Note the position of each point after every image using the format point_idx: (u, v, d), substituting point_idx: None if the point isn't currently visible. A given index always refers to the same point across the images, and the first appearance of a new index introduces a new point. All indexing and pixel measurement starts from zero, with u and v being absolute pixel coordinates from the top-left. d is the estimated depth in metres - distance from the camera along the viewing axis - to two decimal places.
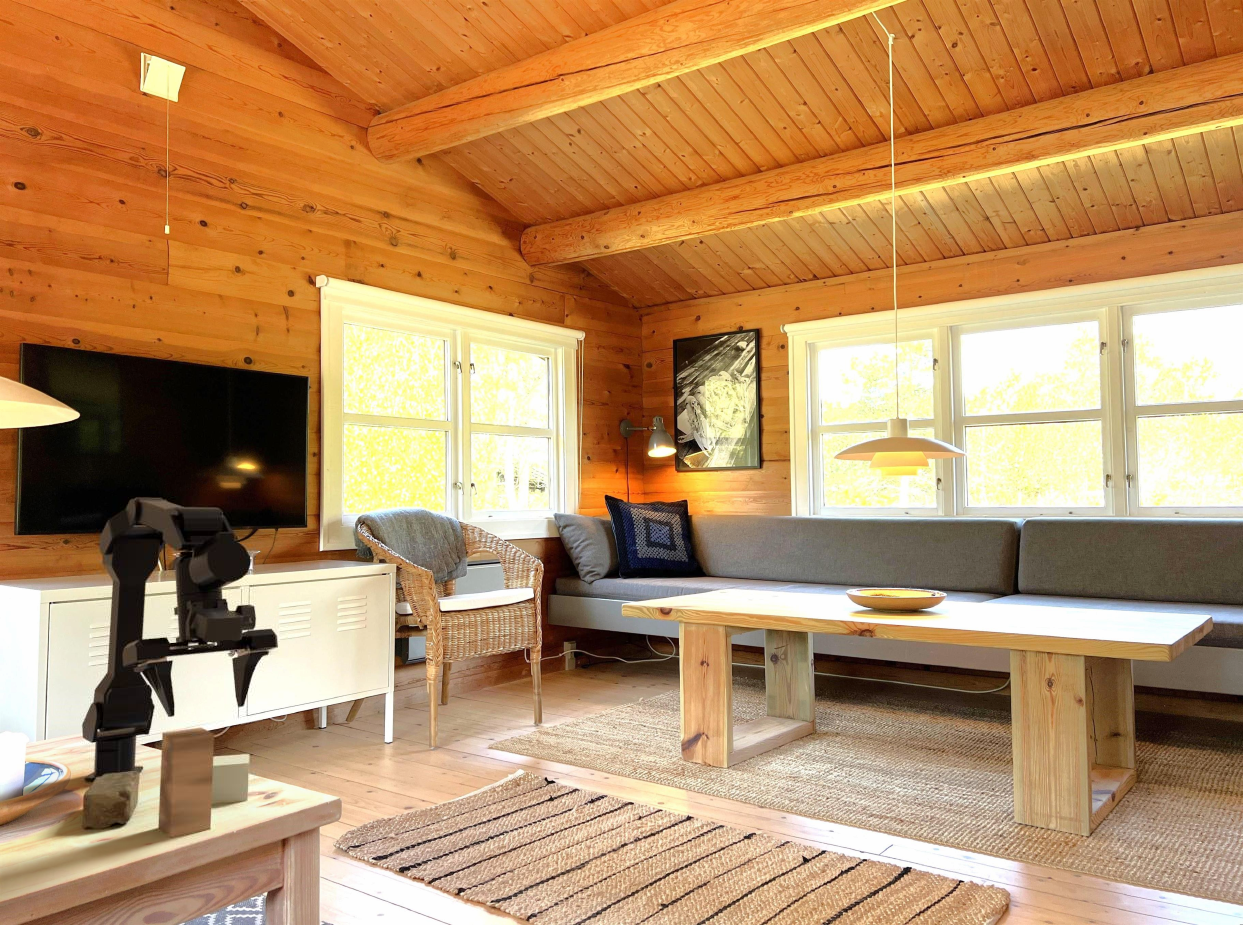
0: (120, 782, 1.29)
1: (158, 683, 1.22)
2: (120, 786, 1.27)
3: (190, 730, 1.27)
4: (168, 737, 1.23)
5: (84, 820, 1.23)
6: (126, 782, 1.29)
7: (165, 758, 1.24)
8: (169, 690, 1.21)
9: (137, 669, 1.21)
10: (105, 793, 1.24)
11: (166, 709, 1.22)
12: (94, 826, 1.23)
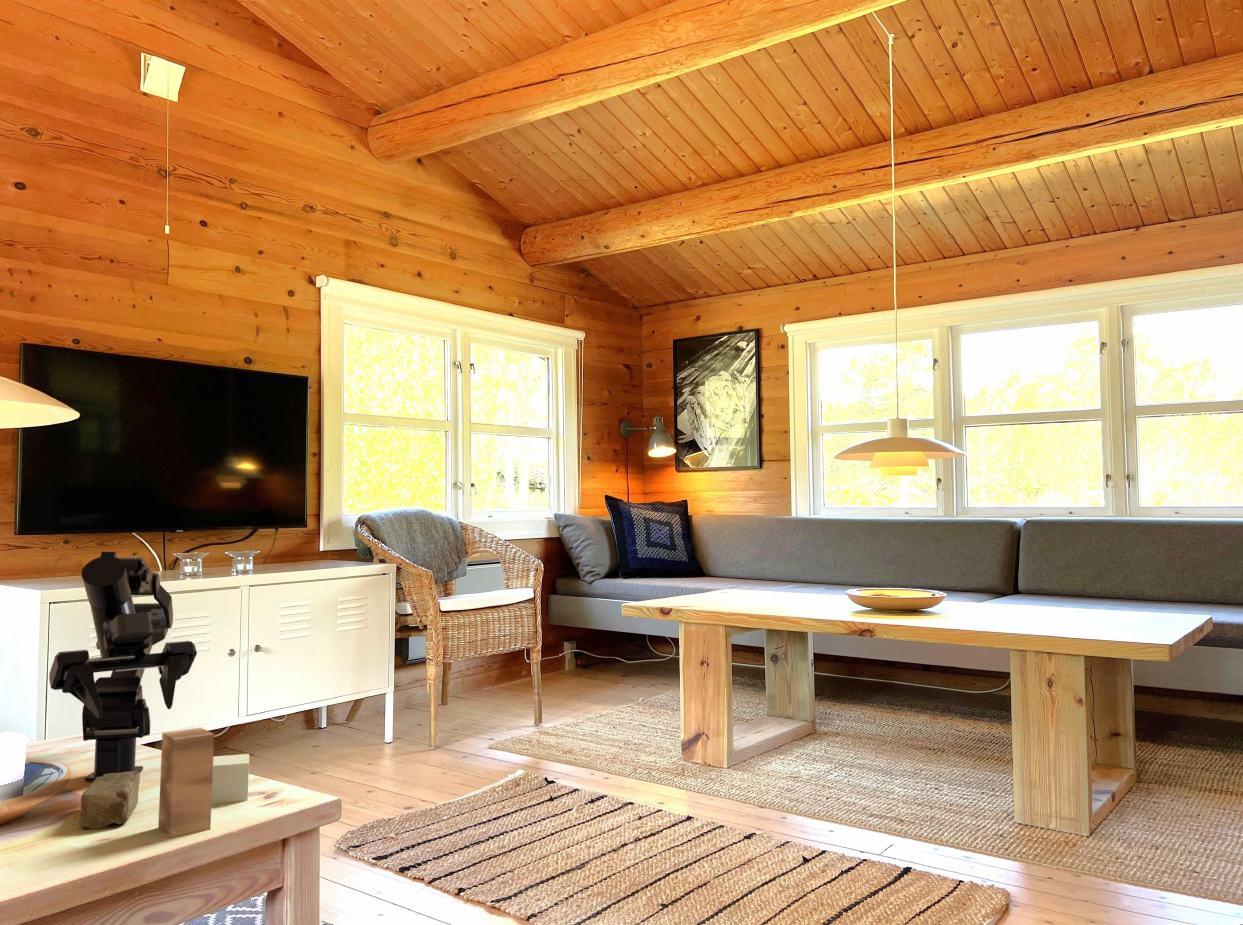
0: (119, 782, 1.28)
1: (85, 693, 1.32)
2: (118, 787, 1.26)
3: (190, 730, 1.27)
4: (168, 737, 1.23)
5: (81, 820, 1.23)
6: (125, 782, 1.29)
7: (165, 758, 1.24)
8: (94, 692, 1.31)
9: (63, 685, 1.32)
10: (103, 793, 1.24)
11: (95, 712, 1.31)
12: (92, 826, 1.23)
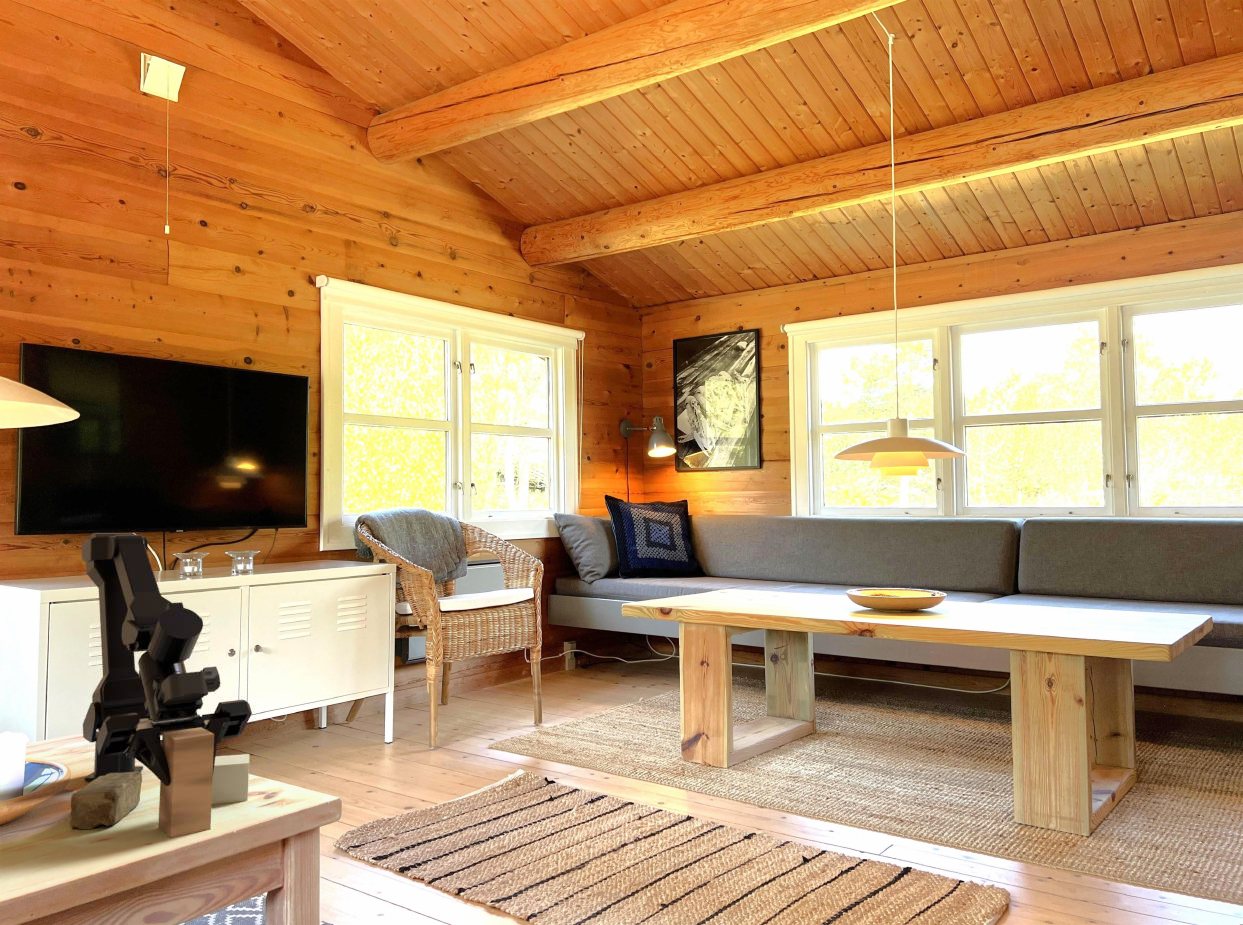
0: (113, 783, 1.28)
1: (151, 758, 1.24)
2: (109, 787, 1.26)
3: (190, 730, 1.27)
4: (168, 737, 1.23)
5: (71, 820, 1.23)
6: (119, 783, 1.28)
7: (165, 757, 1.24)
8: (161, 758, 1.23)
9: (128, 750, 1.24)
10: (91, 794, 1.24)
11: (162, 779, 1.22)
12: (80, 827, 1.23)
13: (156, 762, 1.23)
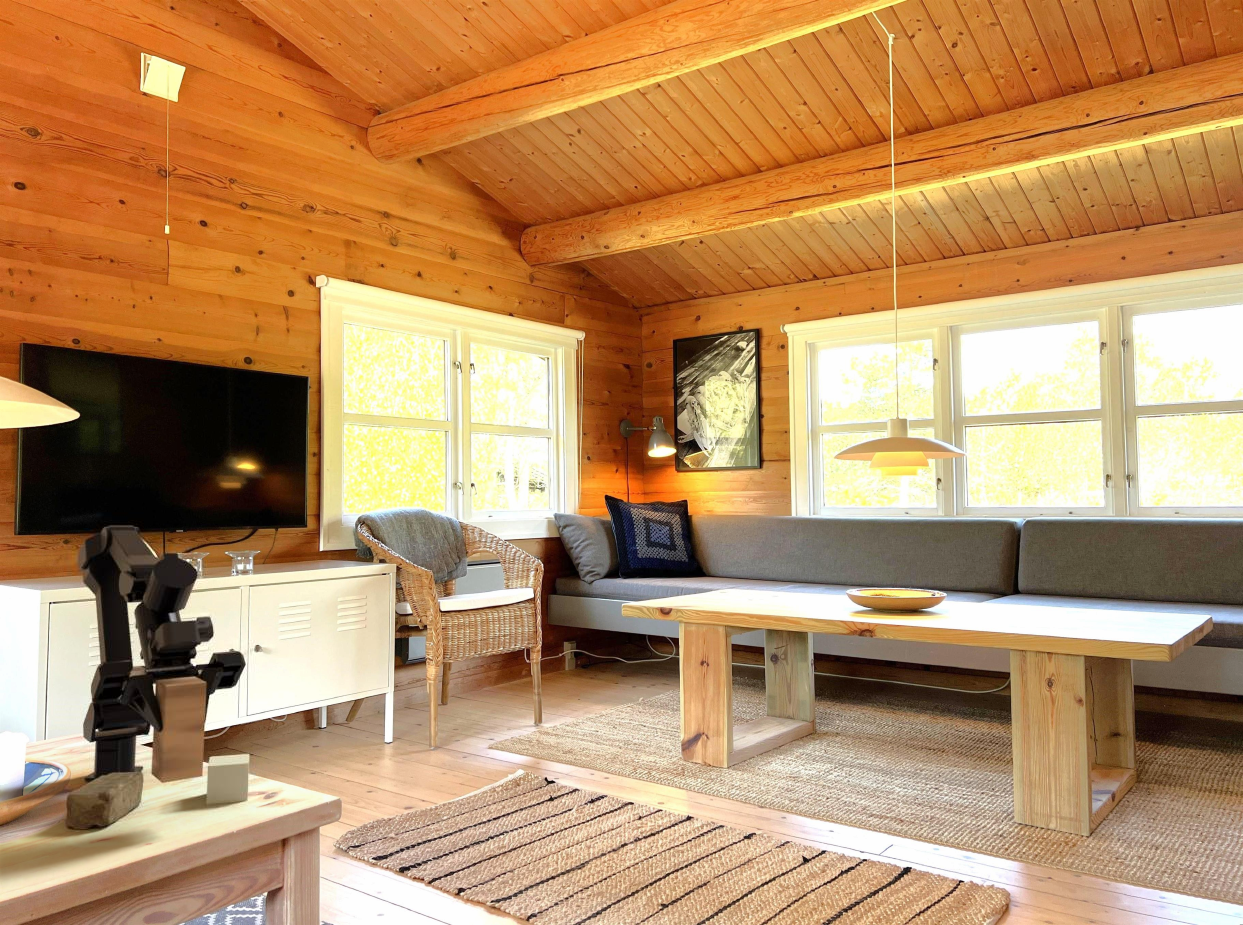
0: (111, 783, 1.28)
1: (144, 705, 1.25)
2: (105, 788, 1.26)
3: (183, 678, 1.27)
4: (161, 684, 1.24)
5: (67, 819, 1.23)
6: (116, 783, 1.28)
7: (158, 705, 1.24)
8: (154, 704, 1.24)
9: (122, 696, 1.25)
10: (86, 794, 1.24)
11: (154, 725, 1.23)
12: (75, 827, 1.23)
13: (148, 709, 1.23)
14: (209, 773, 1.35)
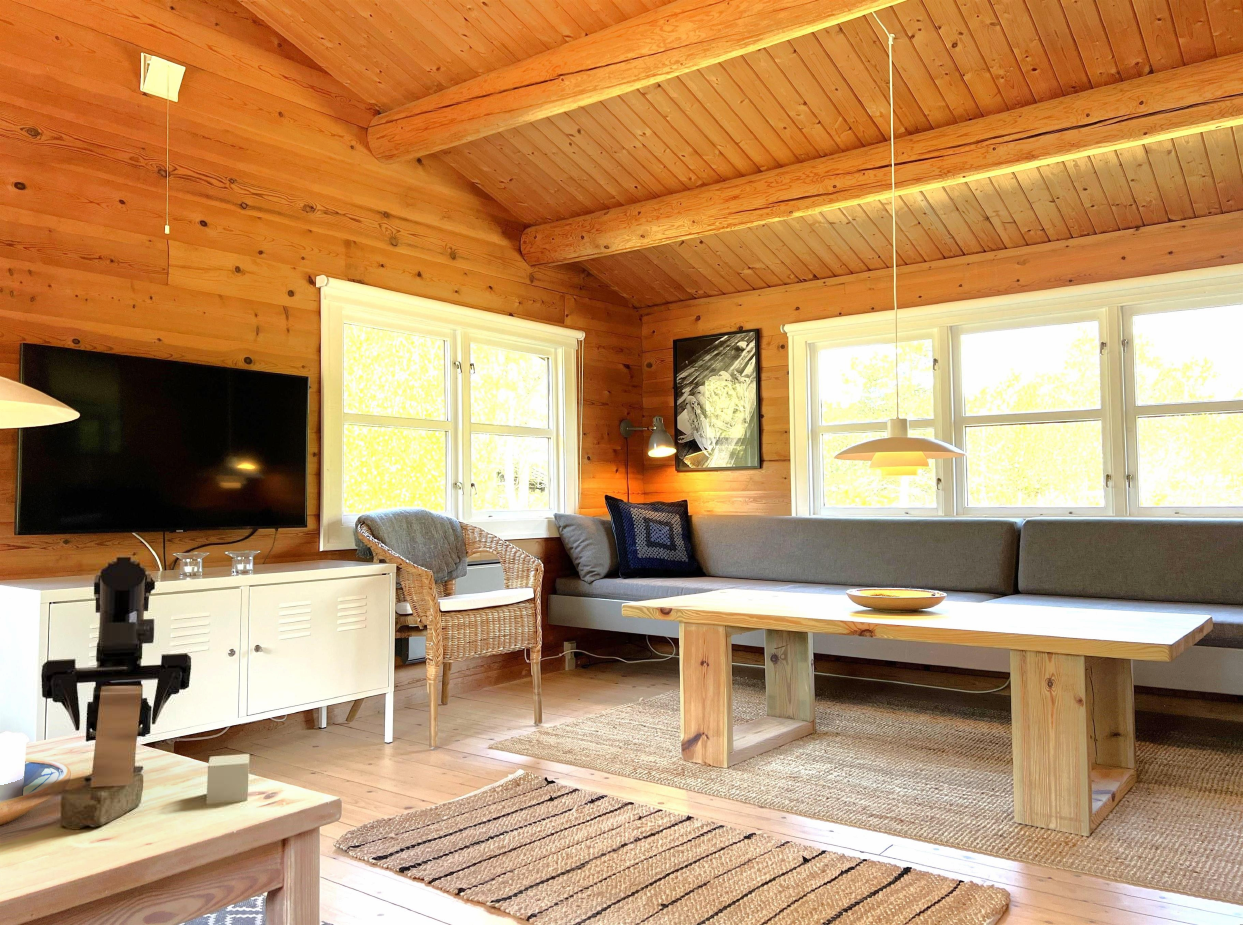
0: None
1: None
2: (99, 788, 1.26)
3: (128, 687, 1.31)
4: None
5: (61, 819, 1.24)
6: None
7: None
8: (75, 703, 1.27)
9: (52, 695, 1.30)
10: (79, 794, 1.24)
11: (74, 723, 1.27)
12: (68, 826, 1.23)
13: (70, 707, 1.27)
14: (209, 773, 1.35)
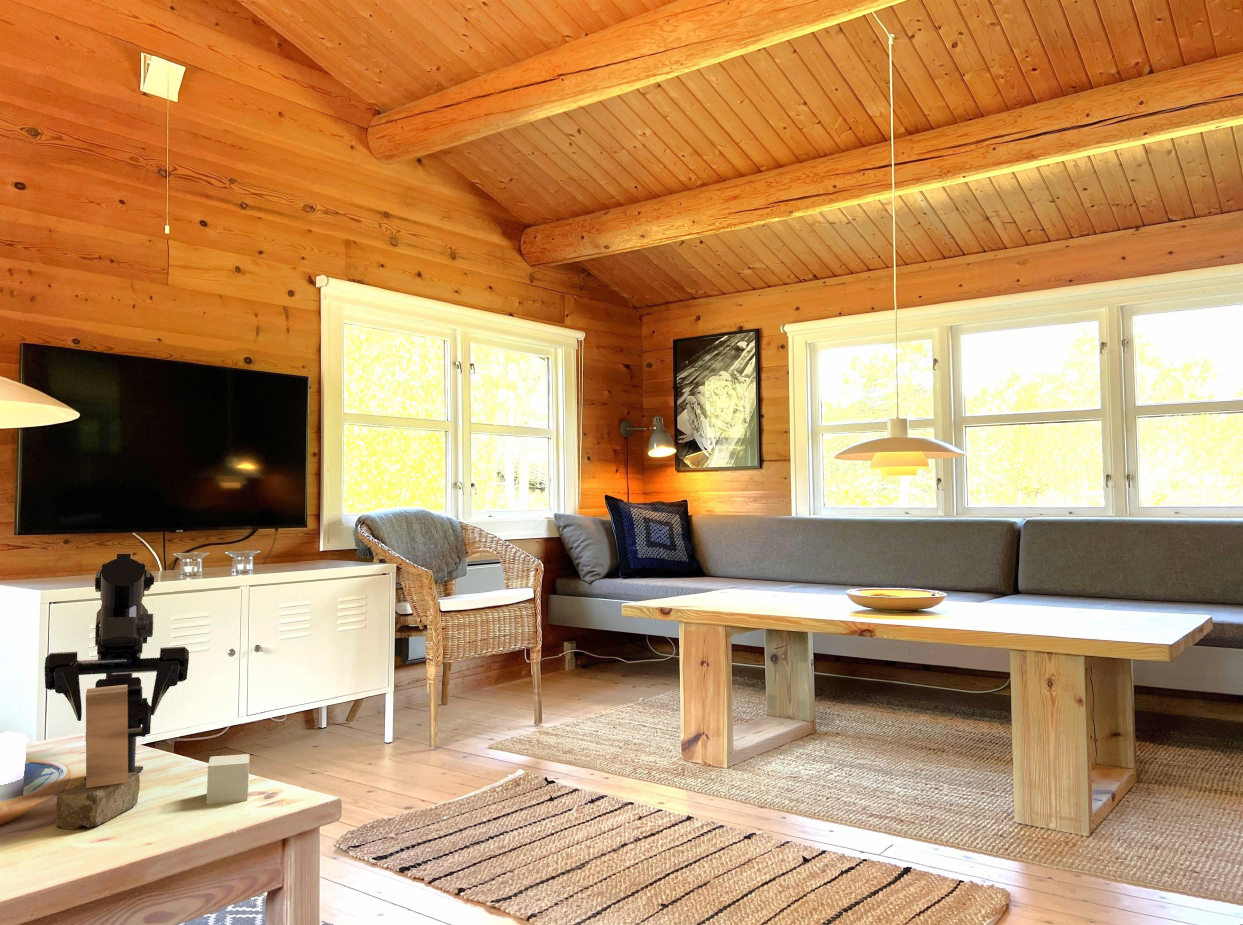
0: None
1: None
2: (94, 789, 1.26)
3: (113, 687, 1.31)
4: None
5: (56, 819, 1.24)
6: None
7: None
8: (77, 695, 1.32)
9: (55, 686, 1.35)
10: (75, 794, 1.24)
11: (76, 714, 1.32)
12: (63, 826, 1.23)
13: (72, 698, 1.32)
14: (209, 773, 1.35)
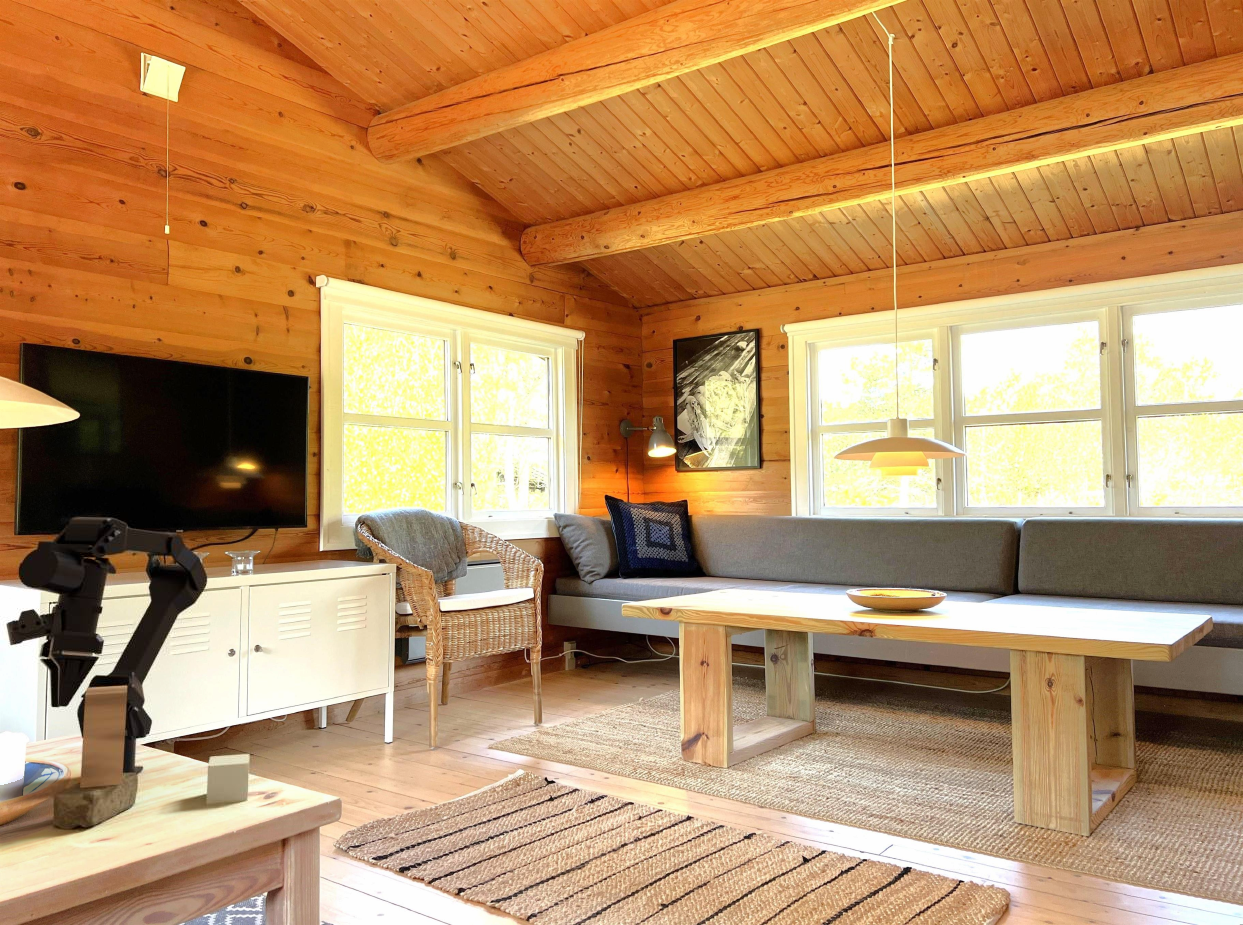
0: None
1: None
2: (91, 788, 1.26)
3: (113, 687, 1.31)
4: (86, 692, 1.28)
5: (53, 818, 1.24)
6: None
7: None
8: (50, 684, 1.39)
9: None
10: (72, 794, 1.24)
11: (58, 700, 1.39)
12: (60, 826, 1.23)
13: None
14: (209, 773, 1.35)
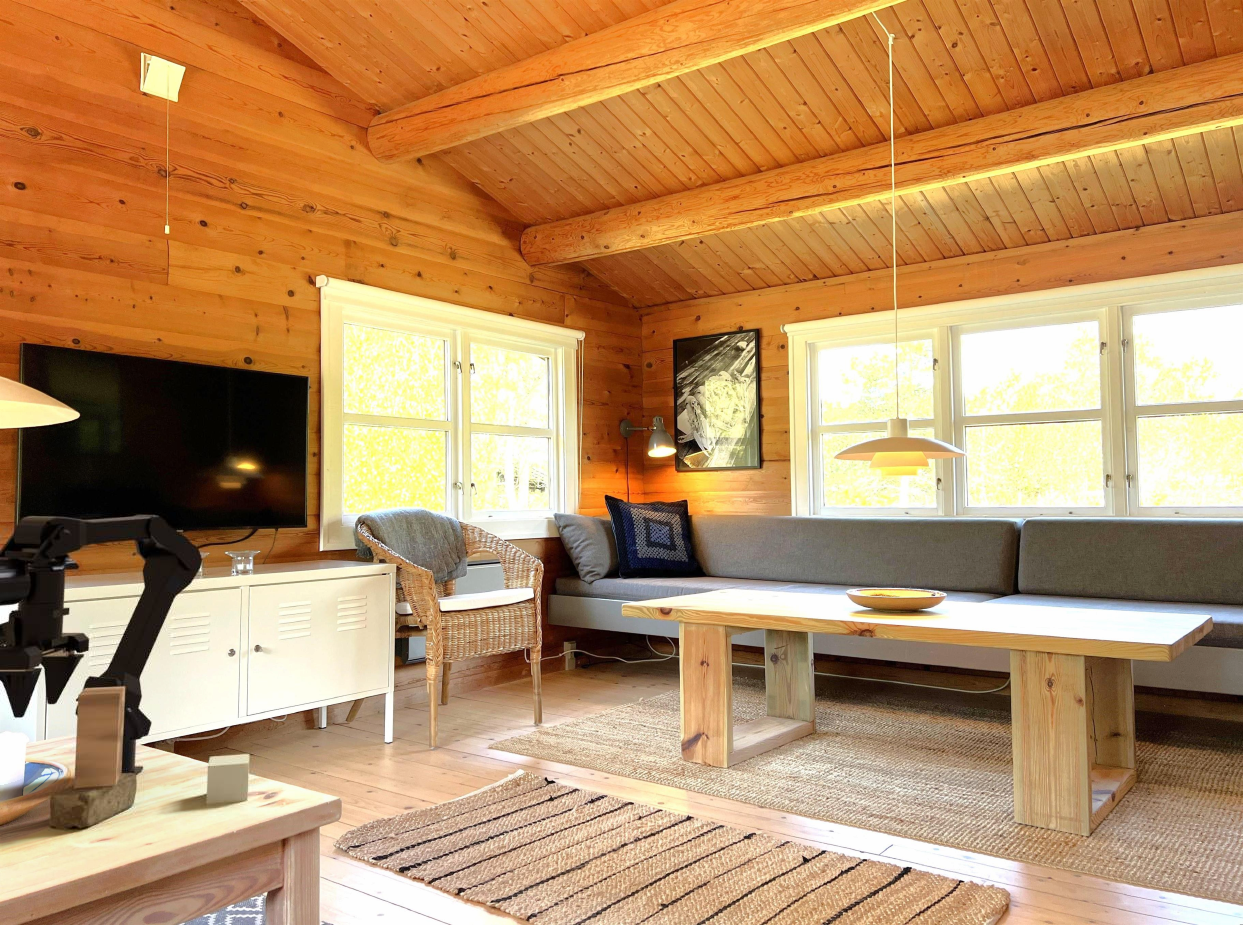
0: None
1: None
2: (88, 789, 1.26)
3: (110, 688, 1.31)
4: None
5: (50, 819, 1.24)
6: None
7: None
8: None
9: None
10: (68, 794, 1.24)
11: None
12: (56, 827, 1.23)
13: None
14: (209, 773, 1.35)
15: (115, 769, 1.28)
